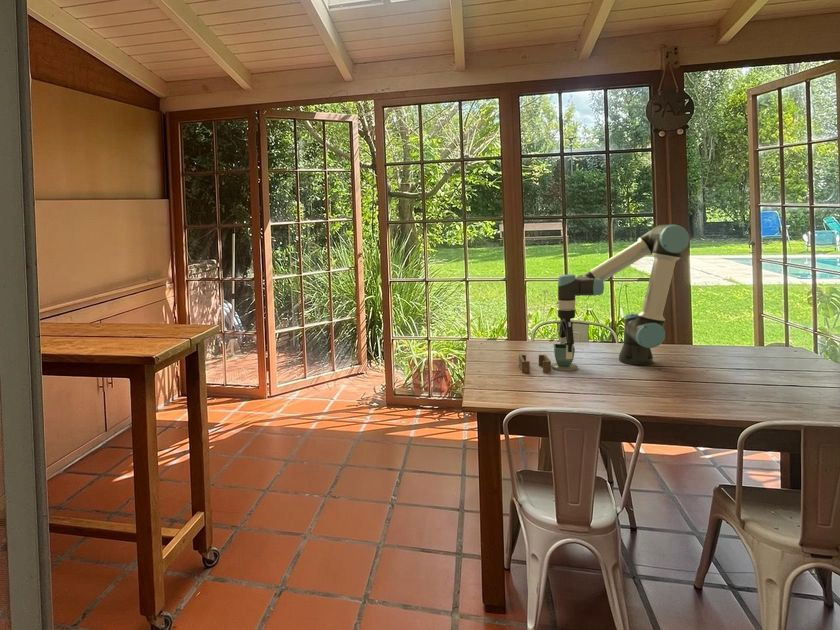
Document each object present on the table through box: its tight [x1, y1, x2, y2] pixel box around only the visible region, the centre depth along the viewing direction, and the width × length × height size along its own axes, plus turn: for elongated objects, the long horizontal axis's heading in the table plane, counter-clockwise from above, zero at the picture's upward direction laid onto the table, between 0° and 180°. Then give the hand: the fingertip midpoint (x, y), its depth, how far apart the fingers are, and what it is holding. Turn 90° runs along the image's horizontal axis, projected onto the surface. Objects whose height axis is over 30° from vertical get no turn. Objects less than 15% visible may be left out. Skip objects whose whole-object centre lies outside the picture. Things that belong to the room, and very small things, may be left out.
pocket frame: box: [518, 354, 552, 374], centre depth 242 cm, size 13×13×5 cm
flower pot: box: [553, 343, 576, 366], centre depth 244 cm, size 9×9×9 cm
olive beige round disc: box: [551, 362, 579, 372], centre depth 244 cm, size 12×12×1 cm
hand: (566, 355), depth 243 cm, fingers open, 13 cm apart
